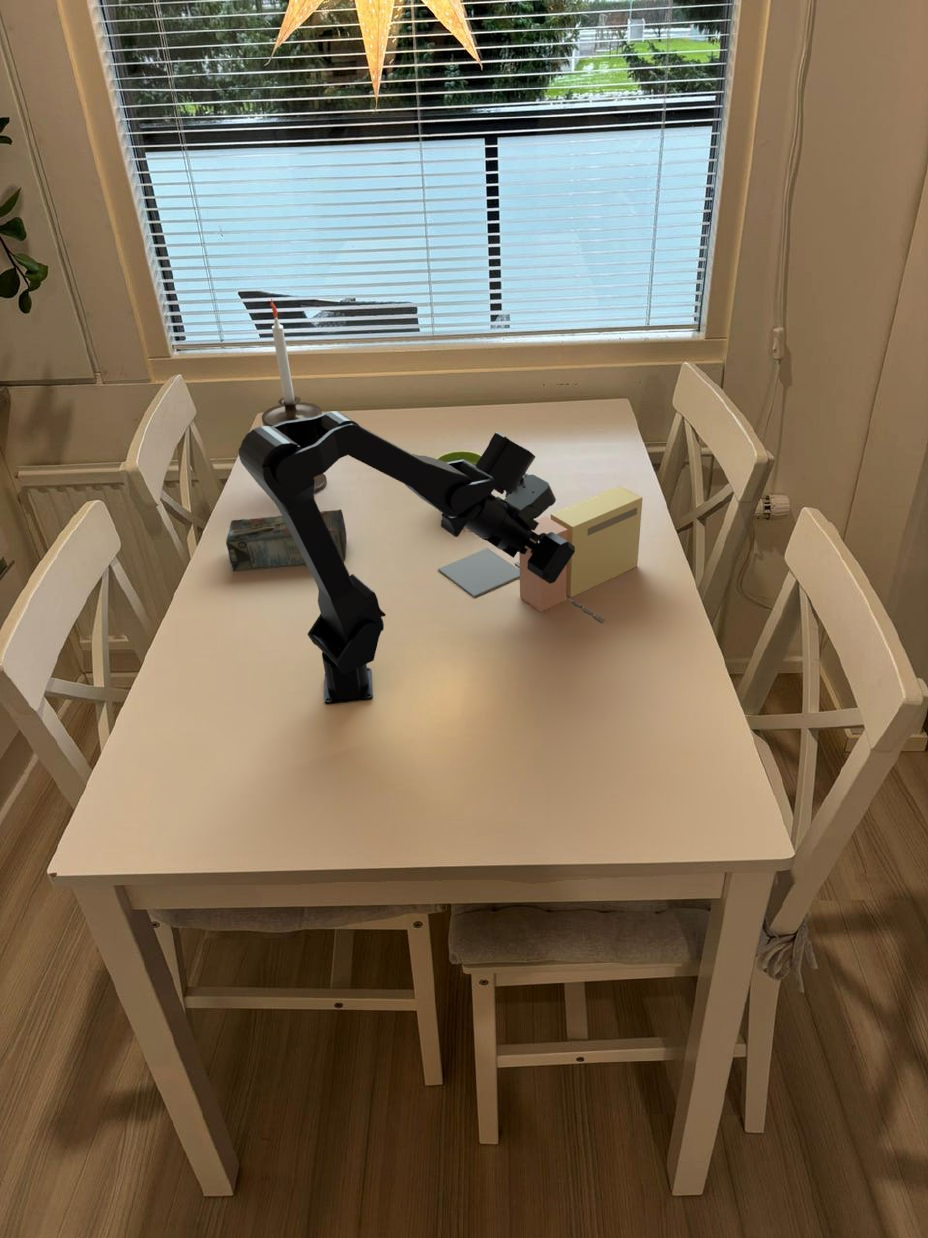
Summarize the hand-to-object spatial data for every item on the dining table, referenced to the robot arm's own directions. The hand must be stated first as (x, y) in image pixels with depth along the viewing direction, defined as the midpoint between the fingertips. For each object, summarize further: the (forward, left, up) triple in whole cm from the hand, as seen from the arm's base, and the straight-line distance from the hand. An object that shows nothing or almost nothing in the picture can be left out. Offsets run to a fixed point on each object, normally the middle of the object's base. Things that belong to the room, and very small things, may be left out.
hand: (550, 558), depth 139 cm
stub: (-1, +1, -7) cm, 7 cm away
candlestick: (+45, +39, -7) cm, 60 cm away
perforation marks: (+1, -1, -7) cm, 7 cm away
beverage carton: (+20, +41, -7) cm, 46 cm away
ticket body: (+4, -8, -7) cm, 11 cm away
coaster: (+8, +10, -7) cm, 14 cm away
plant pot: (+31, +10, -7) cm, 33 cm away
